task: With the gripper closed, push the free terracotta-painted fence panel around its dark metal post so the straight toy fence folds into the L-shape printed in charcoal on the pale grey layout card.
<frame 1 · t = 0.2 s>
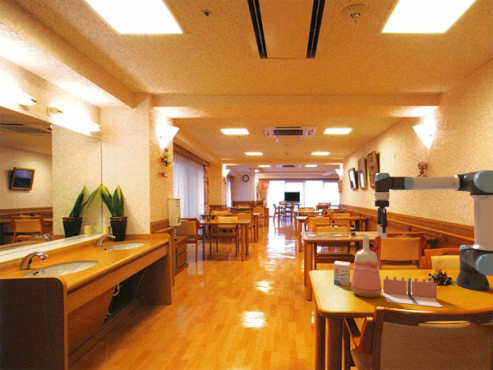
hand: (381, 237, 164), 27 cm above the table, fingers open, 13 cm apart
layout card: (408, 298, 143), on the table
vase: (366, 295, 147), on the table
fixed fence panel: (409, 295, 146), resting on layout card
folding fence panel: (394, 285, 148), point 5 cm above the table, hinge at 0.0°
ink box: (341, 283, 167), on the table
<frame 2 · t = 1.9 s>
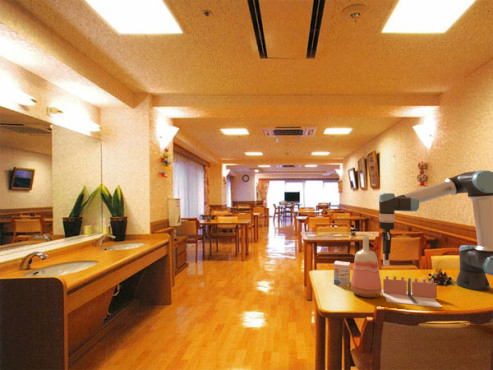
hand: (386, 265, 155), 13 cm above the table, fingers closed
nothing on the table moved.
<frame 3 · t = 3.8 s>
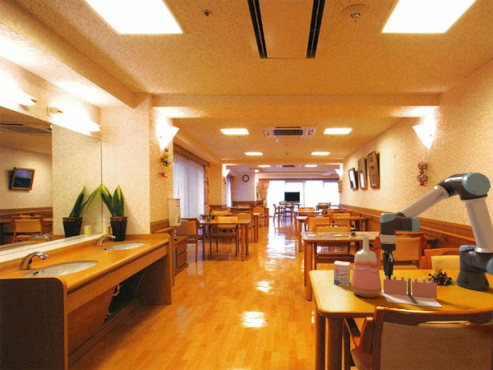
hand: (388, 287, 152), 3 cm above the table, fingers closed
folding fence panel: (394, 285, 148), point 5 cm above the table, hinge at 1.7°, touching gripper
everything else where it was.
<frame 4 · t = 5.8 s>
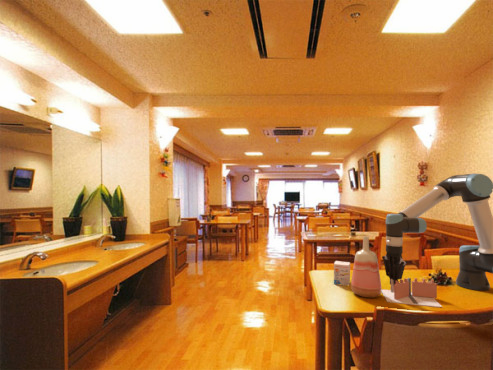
hand: (393, 291, 144), 3 cm above the table, fingers closed
folding fence panel: (401, 288, 143), point 5 cm above the table, hinge at 47.4°, touching gripper
everything else where it was.
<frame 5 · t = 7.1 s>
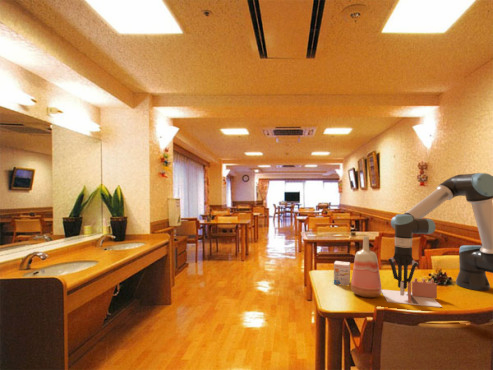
hand: (402, 294, 140), 3 cm above the table, fingers closed
folding fence panel: (409, 290, 141), point 5 cm above the table, hinge at 77.1°, touching gripper
everything else where it was.
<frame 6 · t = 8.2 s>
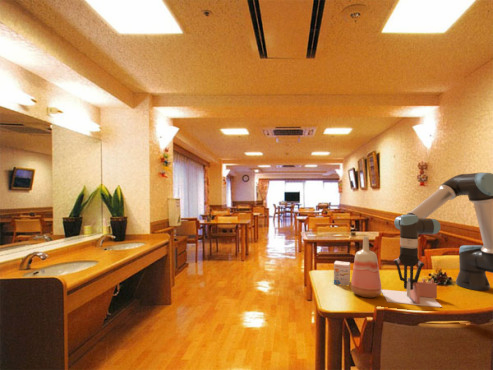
hand: (408, 295, 139), 3 cm above the table, fingers closed
folding fence panel: (414, 290, 140), point 5 cm above the table, hinge at 94.5°, touching gripper
everything else where it was.
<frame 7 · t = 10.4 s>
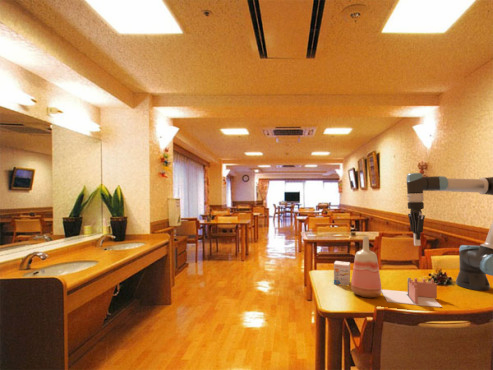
hand: (417, 245, 155), 24 cm above the table, fingers closed
folding fence panel: (413, 290, 140), point 5 cm above the table, hinge at 91.0°
everything else where it was.
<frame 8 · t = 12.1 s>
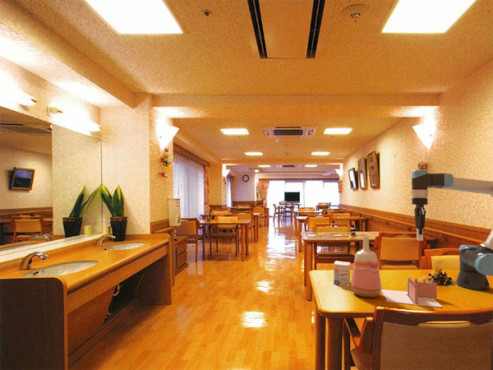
hand: (420, 240, 159), 26 cm above the table, fingers closed
nothing on the table moved.
at the end: folding fence panel at +91° (first picture: +0°) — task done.
